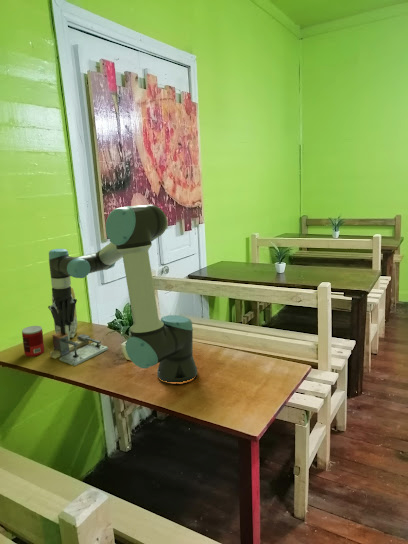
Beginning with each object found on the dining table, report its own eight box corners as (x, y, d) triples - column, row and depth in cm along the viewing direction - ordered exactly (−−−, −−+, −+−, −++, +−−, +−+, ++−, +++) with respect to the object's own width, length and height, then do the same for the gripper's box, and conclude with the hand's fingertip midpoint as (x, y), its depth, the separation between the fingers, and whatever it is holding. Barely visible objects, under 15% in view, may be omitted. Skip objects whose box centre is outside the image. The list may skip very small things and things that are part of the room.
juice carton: (79, 331, 193) (75, 283, 187) (75, 338, 185) (70, 288, 179) (59, 332, 192) (54, 284, 186) (54, 339, 185) (49, 289, 179)
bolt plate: (108, 349, 174) (107, 346, 174) (74, 366, 159) (74, 363, 159) (93, 344, 179) (93, 341, 179) (59, 360, 164) (59, 357, 164)
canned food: (47, 349, 174) (45, 325, 171) (38, 357, 166) (35, 333, 164) (30, 348, 175) (28, 325, 172) (21, 357, 167) (18, 332, 164)
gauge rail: (103, 347, 176) (102, 340, 175) (69, 364, 161) (68, 355, 160) (83, 341, 182) (82, 333, 182) (49, 356, 168) (48, 348, 167)
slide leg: (82, 357, 166) (81, 338, 164) (74, 361, 163) (72, 341, 161) (62, 349, 173) (60, 331, 171) (53, 353, 170) (52, 334, 168)
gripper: (68, 281, 173) (72, 332, 178) (41, 288, 162) (47, 342, 168) (80, 284, 169) (84, 336, 175) (53, 291, 158) (59, 347, 164)
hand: (66, 339), depth 171 cm, fingers closed
